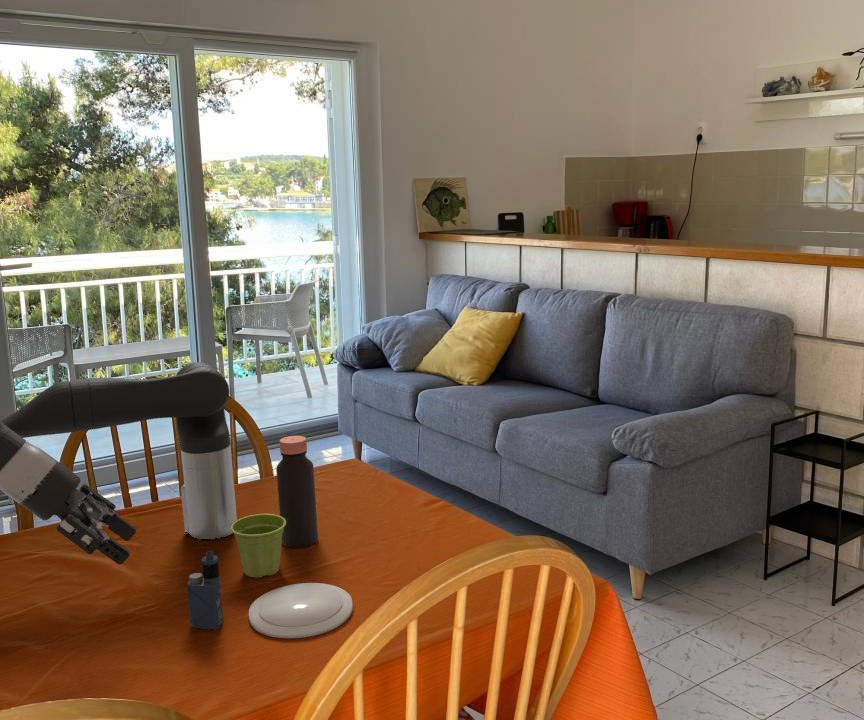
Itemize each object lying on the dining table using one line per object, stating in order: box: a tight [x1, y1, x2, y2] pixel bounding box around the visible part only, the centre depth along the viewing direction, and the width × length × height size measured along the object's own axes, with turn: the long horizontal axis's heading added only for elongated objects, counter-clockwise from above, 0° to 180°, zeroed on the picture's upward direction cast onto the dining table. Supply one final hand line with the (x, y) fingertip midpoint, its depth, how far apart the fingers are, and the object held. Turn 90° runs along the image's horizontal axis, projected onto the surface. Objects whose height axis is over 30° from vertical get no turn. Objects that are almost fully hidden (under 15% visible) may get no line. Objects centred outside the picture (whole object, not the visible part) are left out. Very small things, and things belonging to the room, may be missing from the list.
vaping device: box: [186, 550, 224, 631], centre depth 130 cm, size 3×5×12 cm, turn 79°
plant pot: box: [231, 513, 286, 579], centre depth 148 cm, size 9×9×9 cm
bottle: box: [275, 435, 319, 549], centre depth 159 cm, size 7×7×20 cm
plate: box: [248, 582, 353, 639], centre depth 134 cm, size 16×16×1 cm
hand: (129, 547), depth 126 cm, fingers open, 8 cm apart
